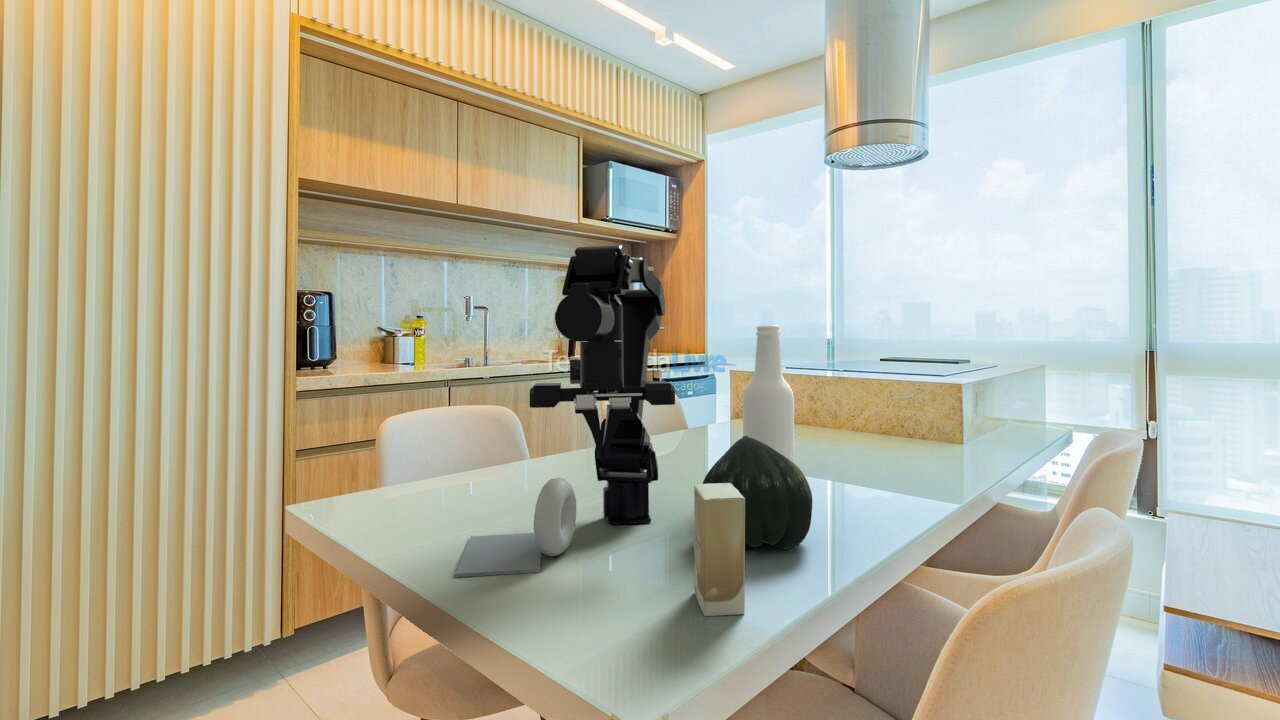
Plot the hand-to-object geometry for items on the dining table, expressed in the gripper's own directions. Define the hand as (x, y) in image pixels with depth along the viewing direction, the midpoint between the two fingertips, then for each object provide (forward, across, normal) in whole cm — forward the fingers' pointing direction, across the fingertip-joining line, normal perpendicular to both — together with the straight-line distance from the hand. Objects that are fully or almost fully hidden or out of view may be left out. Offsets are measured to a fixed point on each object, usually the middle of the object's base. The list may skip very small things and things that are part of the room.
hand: (603, 459), depth 82 cm
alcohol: (+12, -30, -23) cm, 40 cm away
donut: (+12, +6, +1) cm, 14 cm away
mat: (+12, +13, 0) cm, 18 cm away
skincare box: (+12, -11, +18) cm, 25 cm away
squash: (+12, -21, 0) cm, 24 cm away
